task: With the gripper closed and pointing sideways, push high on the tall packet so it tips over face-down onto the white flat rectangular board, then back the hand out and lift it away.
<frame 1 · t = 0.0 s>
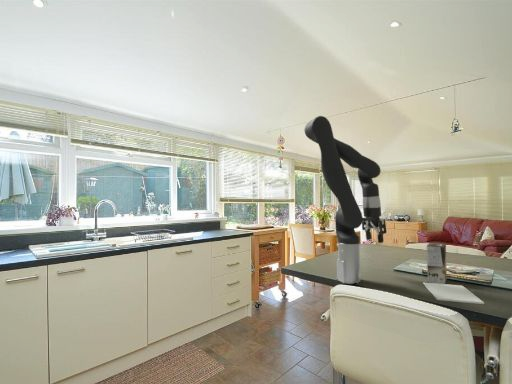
hand: (374, 241, 123), 17 cm above the table, tool pointing down, fingers open, 8 cm apart
white flat rectangular board: (450, 293, 103), on the table
coffee box: (437, 281, 117), on the table
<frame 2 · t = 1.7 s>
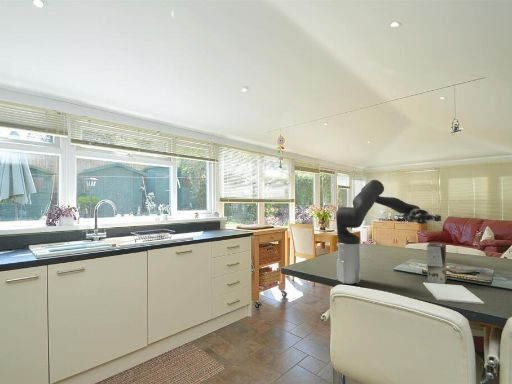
hand: (428, 219, 128), 26 cm above the table, tool horizontal, fingers open, 7 cm apart
nothing on the table moved.
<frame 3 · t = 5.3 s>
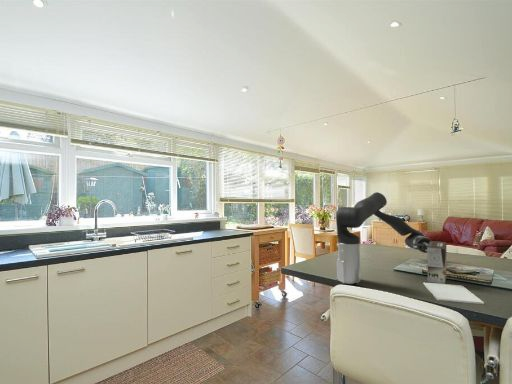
hand: (433, 250, 120), 13 cm above the table, tool horizontal, fingers closed
coffee box: (437, 279, 117), point 1 cm above the table, touching gripper
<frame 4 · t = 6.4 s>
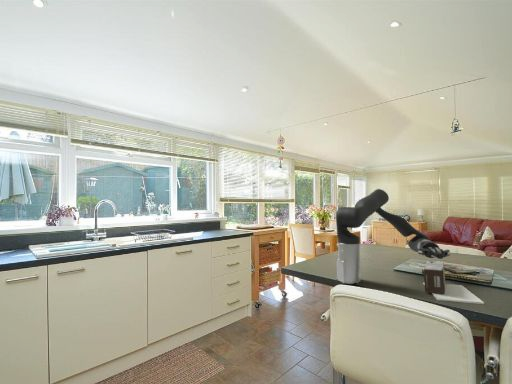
hand: (440, 256, 113), 12 cm above the table, tool horizontal, fingers closed
coffee box: (435, 271, 114), point 5 cm above the table, touching white flat rectangular board
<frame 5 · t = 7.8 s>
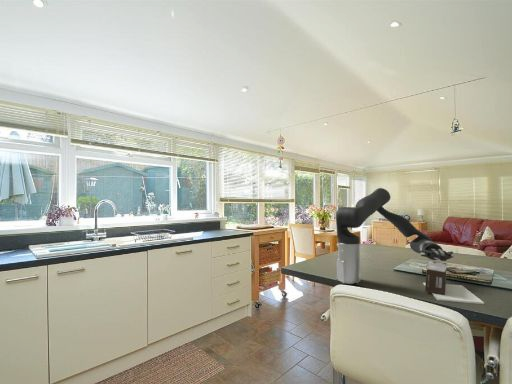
hand: (444, 258, 109), 12 cm above the table, tool horizontal, fingers closed
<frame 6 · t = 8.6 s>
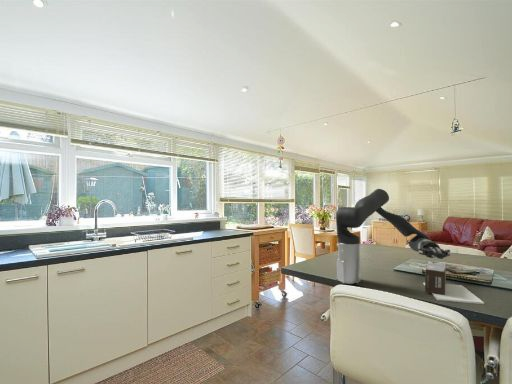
hand: (441, 256, 113), 12 cm above the table, tool horizontal, fingers closed
nothing on the table moved.
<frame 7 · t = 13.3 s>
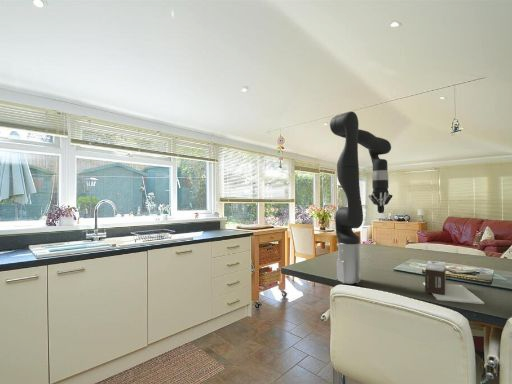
hand: (380, 213, 137), 29 cm above the table, tool pointing down, fingers closed
nothing on the table moved.
at the end: coffee box tilted 91°; coffee box touching white flat rectangular board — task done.
